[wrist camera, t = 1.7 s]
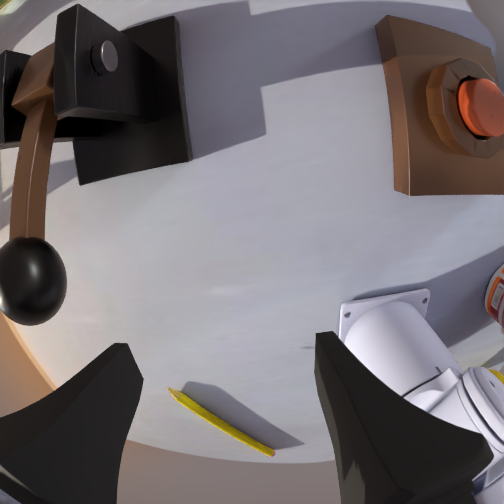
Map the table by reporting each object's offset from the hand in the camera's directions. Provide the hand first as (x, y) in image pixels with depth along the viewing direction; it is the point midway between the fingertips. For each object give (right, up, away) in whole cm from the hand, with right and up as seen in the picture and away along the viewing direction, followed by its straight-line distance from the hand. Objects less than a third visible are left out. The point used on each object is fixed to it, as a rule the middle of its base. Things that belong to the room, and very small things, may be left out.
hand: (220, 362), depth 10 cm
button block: (+15, +14, +5) cm, 21 cm away
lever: (-7, +7, -1) cm, 10 cm away
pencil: (-1, -14, +16) cm, 21 cm away
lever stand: (-7, +14, +5) cm, 16 cm away
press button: (+15, +13, +2) cm, 20 cm away
